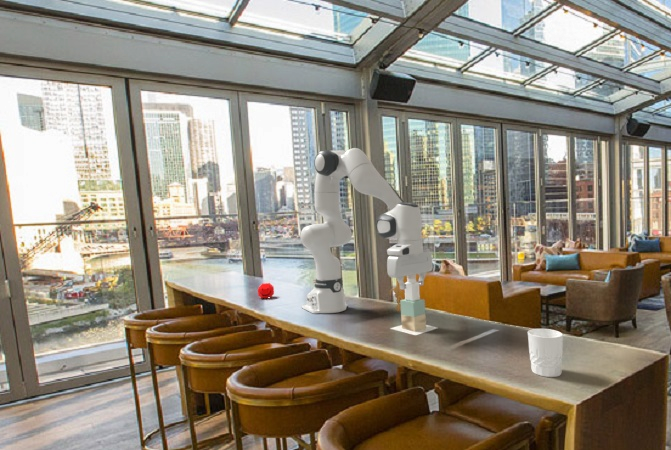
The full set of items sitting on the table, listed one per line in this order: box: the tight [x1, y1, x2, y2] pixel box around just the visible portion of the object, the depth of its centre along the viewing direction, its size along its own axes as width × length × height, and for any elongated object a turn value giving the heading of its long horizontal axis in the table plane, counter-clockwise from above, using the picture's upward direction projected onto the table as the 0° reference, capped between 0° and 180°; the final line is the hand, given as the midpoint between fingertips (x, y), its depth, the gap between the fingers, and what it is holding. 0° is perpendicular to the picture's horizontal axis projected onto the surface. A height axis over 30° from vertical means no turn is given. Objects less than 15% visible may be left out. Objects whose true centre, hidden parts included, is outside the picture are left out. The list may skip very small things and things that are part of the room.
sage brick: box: [399, 298, 426, 317], centre depth 143 cm, size 6×6×5 cm
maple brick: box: [400, 313, 427, 332], centre depth 143 cm, size 6×6×5 cm
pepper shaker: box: [404, 274, 421, 301], centre depth 143 cm, size 4×4×10 cm
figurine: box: [389, 284, 405, 313], centre depth 169 cm, size 8×6×12 cm
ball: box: [257, 282, 275, 299], centre depth 217 cm, size 8×8×8 cm
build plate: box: [389, 324, 438, 336], centre depth 143 cm, size 12×12×1 cm
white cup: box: [527, 328, 564, 378], centre depth 102 cm, size 8×8×10 cm
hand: (411, 287), depth 143 cm, fingers open, 8 cm apart
